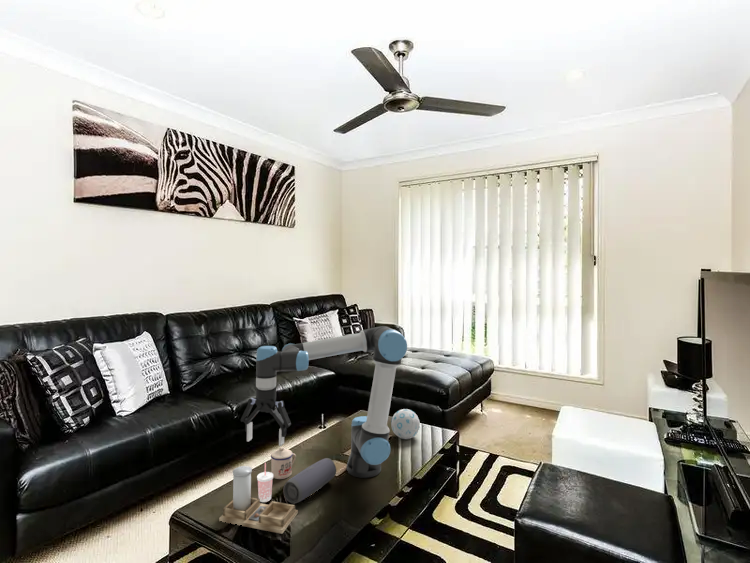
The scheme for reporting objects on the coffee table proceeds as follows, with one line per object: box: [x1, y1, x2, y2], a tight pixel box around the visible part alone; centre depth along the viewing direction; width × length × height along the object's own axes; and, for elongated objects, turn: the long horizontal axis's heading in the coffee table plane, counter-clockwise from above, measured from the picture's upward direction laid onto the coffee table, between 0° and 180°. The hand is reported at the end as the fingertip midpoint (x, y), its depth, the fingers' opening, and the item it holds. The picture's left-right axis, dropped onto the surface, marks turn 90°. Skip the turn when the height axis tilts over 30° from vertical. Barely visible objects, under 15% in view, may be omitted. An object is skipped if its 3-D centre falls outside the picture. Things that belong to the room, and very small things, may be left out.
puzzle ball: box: [390, 408, 421, 440], centre depth 217 cm, size 15×15×15 cm
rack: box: [218, 497, 299, 535], centre depth 145 cm, size 24×12×4 cm, turn 76°
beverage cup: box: [256, 462, 274, 503], centre depth 157 cm, size 6×6×14 cm
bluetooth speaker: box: [282, 457, 337, 505], centre depth 162 cm, size 23×9×10 cm, turn 149°
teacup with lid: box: [270, 446, 297, 480], centre depth 177 cm, size 12×9×12 cm
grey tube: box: [232, 465, 253, 511], centre depth 147 cm, size 7×7×15 cm
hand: (265, 442), depth 157 cm, fingers open, 13 cm apart
